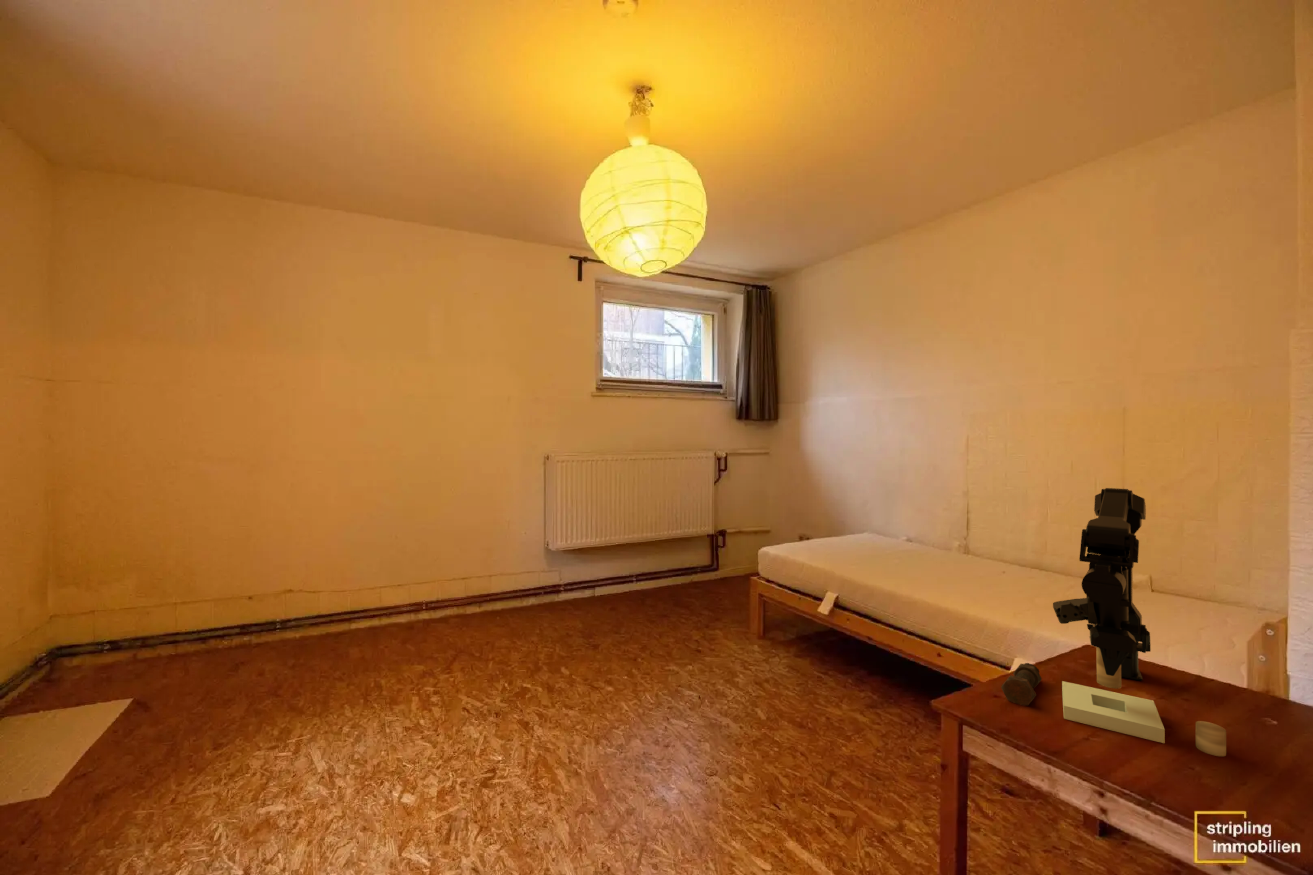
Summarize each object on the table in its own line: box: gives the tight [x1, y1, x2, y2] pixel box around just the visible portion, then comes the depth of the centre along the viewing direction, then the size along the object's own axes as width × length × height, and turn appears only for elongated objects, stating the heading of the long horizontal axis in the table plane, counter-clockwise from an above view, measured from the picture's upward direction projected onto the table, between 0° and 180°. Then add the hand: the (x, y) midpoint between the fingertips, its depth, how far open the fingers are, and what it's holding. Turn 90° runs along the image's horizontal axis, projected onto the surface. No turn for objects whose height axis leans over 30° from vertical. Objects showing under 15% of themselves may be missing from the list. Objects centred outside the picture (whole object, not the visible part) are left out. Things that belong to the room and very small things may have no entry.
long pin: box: [1095, 647, 1122, 689], centre depth 101 cm, size 4×4×8 cm
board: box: [1061, 680, 1166, 744], centre depth 101 cm, size 12×14×2 cm
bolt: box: [1000, 662, 1043, 707], centre depth 112 cm, size 6×5×15 cm
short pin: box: [1195, 720, 1227, 757], centre depth 90 cm, size 4×4×4 cm
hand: (1108, 671), depth 101 cm, fingers closed on long pin, 4 cm apart
